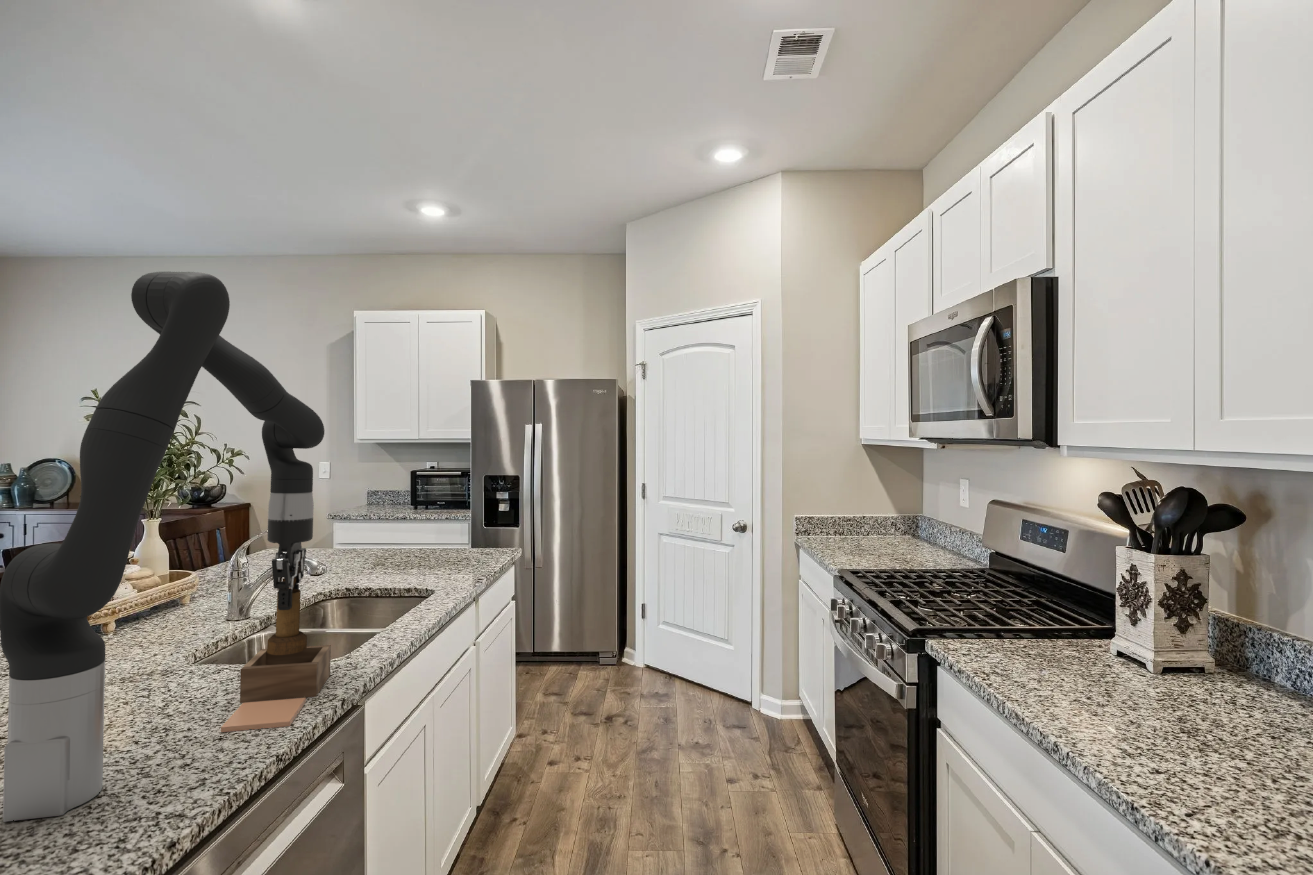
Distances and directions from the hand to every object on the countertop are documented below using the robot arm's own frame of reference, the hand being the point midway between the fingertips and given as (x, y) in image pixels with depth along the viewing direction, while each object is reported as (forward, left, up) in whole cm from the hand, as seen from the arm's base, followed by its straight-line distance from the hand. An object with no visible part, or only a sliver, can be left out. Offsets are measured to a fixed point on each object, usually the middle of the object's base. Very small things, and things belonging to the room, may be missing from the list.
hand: (288, 606), depth 122 cm
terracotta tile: (-13, 0, -16) cm, 20 cm away
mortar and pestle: (0, 0, -9) cm, 9 cm away
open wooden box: (0, 0, -16) cm, 16 cm away
